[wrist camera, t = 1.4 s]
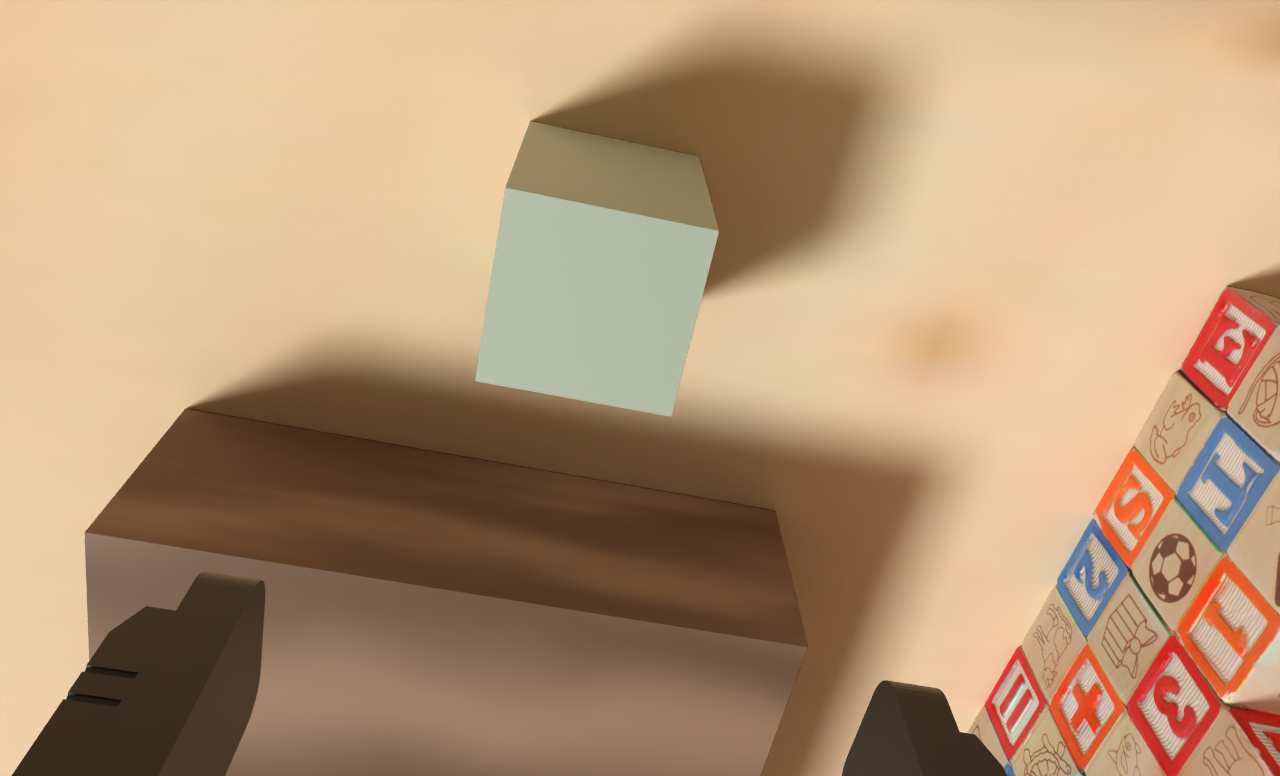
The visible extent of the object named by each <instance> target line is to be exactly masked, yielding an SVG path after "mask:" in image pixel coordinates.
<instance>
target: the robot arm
mask: <svg viewBox="0 0 1280 776" xmlns="http://www.w3.org/2000/svg"><path fill="white" fill-rule="evenodd" d="M265 592H266V591H265V583H264V581H262V580H255V579H249V578H243V577H236V576H230V575H224V574H217V573H211V572H201V573H200V574H199V575H198V576H197V577H196V578H195V580H194V582H193V583H192V585H191V586H190V588H189V590H188V591H187V593H186V595H185V596H184V598H183V600H182V601H181V603H180V605H179V606H178V608H177V610H176V611H175V610H169V609H162V608H155V607H149V606H146V607H144V608H143V609H141V610H140V611H138V612H137V613H136V614H134V615H133V616H131V617H130V618H128V619H127V620H126V621H124V622H123V623H121V624H120V625H118V626H117V627H116V628H114V629H113V630H111V631H110V632H109V633H108V634H107V636H106V637H105V639H104V640H103V642H102V643H101V645H100V646H99V648H98V649H97V651H96V652H95V654H94V655H93V656H92V658H91V659H90V661H89V662H88V664H87V667H86V670H85V672H82V673H81V674H80V676H79V677H78V679H77V680H76V682H75V683H74V684H73V686H72V687H71V689H70V690H69V692H68V696H67V699H66V700H65V699H63V701H62V702H61V704H60V705H59V707H58V708H57V710H56V711H55V713H54V714H53V715H52V717H51V718H50V720H49V721H48V723H47V724H46V726H45V727H44V729H43V730H42V732H41V733H40V735H39V736H38V738H37V739H36V741H35V742H34V743H33V745H32V746H31V748H30V749H29V751H28V752H27V754H26V755H25V757H24V758H23V760H22V761H21V763H20V764H19V766H18V767H17V769H16V770H15V772H14V773H13V774H12V776H225V775H226V772H227V770H228V768H229V766H230V763H231V761H232V759H233V757H234V754H235V752H236V750H237V748H238V745H239V743H240V741H241V738H242V736H243V734H244V732H245V729H246V727H247V725H248V722H249V720H250V717H251V714H252V711H253V707H254V704H255V700H256V696H257V692H258V687H259V681H260V674H261V659H262V643H263V627H264V610H265ZM842 776H1007V774H1006V772H1005V770H1004V767H1003V766H1002V765H1001V764H1000V763H999V762H998V760H997V759H996V758H995V757H994V756H993V754H992V753H991V752H990V751H989V750H988V749H987V747H986V746H985V745H984V744H983V743H982V741H981V740H980V739H979V738H978V737H977V736H976V735H975V734H969V733H962V732H959V729H958V727H957V724H956V722H955V719H954V717H953V714H952V711H951V709H950V706H949V704H948V701H947V699H946V697H945V695H944V693H943V692H942V691H941V690H940V689H937V688H931V687H925V686H919V685H912V684H906V683H900V682H893V681H887V680H885V681H882V682H881V683H880V684H879V685H878V686H877V688H876V689H875V692H874V694H873V696H872V699H871V701H870V703H869V706H868V708H867V711H866V713H865V715H864V718H863V720H862V723H861V725H860V727H859V730H858V732H857V735H856V737H855V739H854V742H853V744H852V747H851V749H850V751H849V754H848V756H847V759H846V762H845V765H844V768H843V774H842Z"/></svg>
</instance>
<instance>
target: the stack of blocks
mask: <svg viewBox="0 0 1280 776" xmlns="http://www.w3.org/2000/svg"><path fill="white" fill-rule="evenodd" d="M1093 514H1094V519H1093V520H1092V521H1091V522H1090V524H1089V525H1088V527H1087V529H1086V530H1085V532H1084V534H1083V536H1082V538H1081V540H1080V541H1079V543H1078V545H1077V546H1076V548H1075V550H1074V552H1073V554H1072V555H1071V557H1070V559H1069V560H1068V562H1067V564H1066V566H1065V568H1064V569H1063V571H1062V573H1061V574H1060V576H1059V578H1058V579H1057V584H1056V586H1055V587H1054V588H1053V590H1052V591H1051V593H1050V595H1049V596H1048V598H1047V600H1046V602H1045V603H1044V605H1043V607H1042V609H1041V611H1040V612H1039V614H1038V616H1037V617H1036V619H1035V621H1034V623H1033V625H1032V626H1031V628H1030V630H1029V631H1028V633H1027V635H1026V637H1025V639H1024V640H1023V642H1022V644H1021V646H1019V647H1018V648H1017V649H1016V651H1015V653H1014V654H1013V656H1012V658H1011V659H1010V661H1009V663H1008V665H1007V666H1006V668H1005V670H1004V672H1003V673H1002V675H1001V677H1000V679H999V680H998V682H997V684H996V685H995V687H994V689H993V691H992V692H991V694H990V696H989V698H988V699H987V701H986V703H985V705H984V706H983V708H982V709H981V710H980V712H979V714H978V716H977V717H976V719H975V721H974V722H973V724H972V726H971V728H970V729H969V731H968V733H969V734H975V735H976V736H977V737H978V738H979V739H980V740H981V741H982V743H983V744H984V745H985V746H986V747H987V749H988V750H989V751H990V752H991V753H992V754H993V756H994V757H995V758H996V759H997V760H998V762H999V763H1000V764H1001V765H1002V766H1003V767H1004V770H1005V772H1006V774H1007V776H1280V298H1276V297H1272V296H1268V295H1264V294H1260V293H1256V292H1252V291H1248V290H1243V289H1238V288H1233V287H1226V288H1225V289H1224V291H1223V292H1222V294H1221V296H1220V298H1219V300H1218V302H1217V303H1216V305H1215V307H1214V309H1213V311H1212V312H1211V314H1210V316H1209V318H1208V320H1207V321H1206V323H1205V325H1204V327H1203V329H1202V330H1201V332H1200V334H1199V336H1198V338H1197V340H1196V341H1195V343H1194V345H1193V346H1192V348H1191V350H1190V352H1189V354H1188V356H1187V358H1186V359H1185V361H1184V362H1183V364H1182V369H1181V371H1179V372H1176V373H1175V374H1174V375H1173V376H1172V378H1171V380H1170V382H1169V383H1168V385H1167V387H1166V388H1165V390H1164V392H1163V394H1162V395H1161V397H1160V399H1159V400H1158V402H1157V404H1156V406H1155V407H1154V409H1153V411H1152V413H1151V414H1150V416H1149V418H1148V420H1147V421H1146V423H1145V425H1144V427H1143V428H1142V430H1141V432H1140V434H1139V436H1138V438H1137V440H1136V444H1135V447H1134V448H1133V449H1132V450H1131V451H1130V452H1129V454H1128V455H1127V457H1126V458H1125V460H1124V461H1123V463H1122V465H1121V467H1120V468H1119V470H1118V472H1117V474H1116V475H1115V477H1114V479H1113V480H1112V482H1111V484H1110V485H1109V487H1108V489H1107V490H1106V492H1105V494H1104V496H1103V497H1102V499H1101V501H1100V503H1099V505H1098V506H1097V508H1096V509H1095V511H1094V513H1093Z"/></svg>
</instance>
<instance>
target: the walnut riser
mask: <svg viewBox="0 0 1280 776" xmlns="http://www.w3.org/2000/svg"><path fill="white" fill-rule="evenodd" d="M85 554H86V581H87V608H88V636H89V661H90V659H91V658H92V656H93V655H94V654H95V652H96V651H97V649H98V648H99V646H100V645H101V643H102V642H103V640H104V639H105V637H106V636H107V634H108V633H109V632H110V631H111V630H113V629H114V628H116V627H117V626H118V625H120V624H121V623H123V622H124V621H126V620H127V619H128V618H130V617H131V616H133V615H134V614H136V613H137V612H138V611H140V610H141V609H143V608H144V607H146V606H149V607H155V608H162V609H169V610H175V611H176V610H177V608H178V606H179V605H180V603H181V601H182V600H183V598H184V596H185V595H186V593H187V591H188V590H189V588H190V586H191V585H192V583H193V582H194V580H195V578H196V577H197V576H198V575H199V574H200V573H201V572H211V573H217V574H224V575H230V576H236V577H243V578H249V579H255V580H262V581H264V583H265V591H266V592H265V610H264V627H263V643H262V659H261V674H260V681H259V687H258V692H257V696H256V700H255V704H254V707H253V711H252V714H251V717H250V720H249V722H248V725H247V727H246V729H245V732H244V734H243V736H242V738H241V741H240V743H239V745H238V748H237V750H236V752H235V754H234V757H233V759H232V761H231V763H230V766H229V768H228V770H227V772H226V775H225V776H760V775H761V773H762V770H763V767H764V764H765V762H766V759H767V756H768V754H769V751H770V748H771V745H772V743H773V740H774V737H775V735H776V732H777V729H778V727H779V724H780V721H781V718H782V716H783V713H784V710H785V708H786V705H787V702H788V699H789V697H790V694H791V691H792V689H793V686H794V683H795V681H796V678H797V675H798V672H799V670H800V667H801V664H802V662H803V659H804V656H805V653H806V651H807V648H808V646H807V642H806V638H805V634H804V629H803V625H802V621H801V617H800V613H799V609H798V604H797V600H796V596H795V592H794V588H793V583H792V579H791V575H790V571H789V567H788V563H787V558H786V554H785V550H784V546H783V542H782V537H781V533H780V529H779V525H778V521H777V517H776V512H775V511H773V510H768V509H762V508H756V507H750V506H744V505H739V504H733V503H727V502H721V501H716V500H710V499H704V498H698V497H693V496H687V495H681V494H675V493H669V492H664V491H658V490H652V489H646V488H641V487H635V486H629V485H623V484H618V483H612V482H606V481H600V480H594V479H589V478H583V477H577V476H571V475H566V474H560V473H554V472H548V471H543V470H537V469H531V468H525V467H519V466H514V465H508V464H502V463H496V462H491V461H485V460H479V459H473V458H468V457H462V456H456V455H450V454H444V453H439V452H433V451H427V450H421V449H416V448H410V447H404V446H398V445H393V444H387V443H381V442H375V441H369V440H364V439H358V438H352V437H346V436H341V435H335V434H329V433H323V432H318V431H312V430H306V429H300V428H294V427H289V426H283V425H277V424H271V423H266V422H260V421H254V420H248V419H243V418H237V417H231V416H225V415H219V414H214V413H208V412H202V411H196V410H191V409H185V410H184V411H183V412H182V414H181V415H180V416H179V417H178V418H177V420H176V421H175V422H174V423H173V425H172V426H171V427H170V428H169V430H168V431H167V432H166V433H165V434H164V436H163V437H162V438H161V439H160V441H159V442H158V443H157V444H156V445H155V447H154V448H153V449H152V450H151V452H150V453H149V454H148V455H147V457H146V458H145V459H144V460H143V461H142V463H141V464H140V465H139V466H138V468H137V469H136V470H135V471H134V473H133V474H132V475H131V476H130V477H129V479H128V480H127V481H126V482H125V484H124V485H123V486H122V487H121V488H120V490H119V491H118V492H117V493H116V495H115V496H114V497H113V498H112V500H111V501H110V502H109V503H108V504H107V506H106V507H105V508H104V509H103V511H102V512H101V513H100V514H99V516H98V517H97V518H96V519H95V520H94V522H93V523H92V524H91V525H90V527H89V528H88V529H87V530H86V532H85Z"/></svg>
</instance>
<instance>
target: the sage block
mask: <svg viewBox="0 0 1280 776" xmlns="http://www.w3.org/2000/svg"><path fill="white" fill-rule="evenodd" d="M718 234H719V229H718V225H717V221H716V217H715V214H714V210H713V206H712V203H711V199H710V195H709V191H708V188H707V184H706V180H705V176H704V173H703V169H702V165H701V162H700V158H699V156H695V155H690V154H685V153H681V152H676V151H671V150H666V149H662V148H657V147H652V146H647V145H643V144H638V143H633V142H628V141H624V140H619V139H614V138H609V137H605V136H600V135H595V134H590V133H586V132H581V131H576V130H571V129H567V128H562V127H557V126H552V125H548V124H543V123H538V122H533V121H530V123H529V126H528V128H527V131H526V134H525V137H524V139H523V142H522V145H521V147H520V150H519V153H518V155H517V158H516V161H515V163H514V166H513V169H512V171H511V174H510V177H509V179H508V182H507V185H506V188H505V194H504V200H503V206H502V213H501V219H500V225H499V232H498V238H497V244H496V251H495V257H494V263H493V270H492V276H491V282H490V289H489V295H488V301H487V308H486V314H485V320H484V327H483V333H482V339H481V346H480V352H479V358H478V365H477V371H476V377H475V381H477V382H483V383H488V384H494V385H499V386H505V387H510V388H516V389H521V390H527V391H532V392H538V393H543V394H549V395H554V396H560V397H565V398H571V399H576V400H582V401H587V402H593V403H598V404H604V405H609V406H615V407H620V408H626V409H631V410H637V411H642V412H648V413H653V414H659V415H664V416H670V417H671V415H672V412H673V408H674V404H675V400H676V396H677V392H678V388H679V385H680V381H681V377H682V373H683V369H684V365H685V361H686V358H687V354H688V350H689V346H690V342H691V338H692V334H693V330H694V327H695V323H696V319H697V315H698V311H699V307H700V303H701V300H702V296H703V292H704V288H705V284H706V280H707V276H708V272H709V269H710V265H711V261H712V257H713V253H714V249H715V245H716V242H717V238H718Z"/></svg>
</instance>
